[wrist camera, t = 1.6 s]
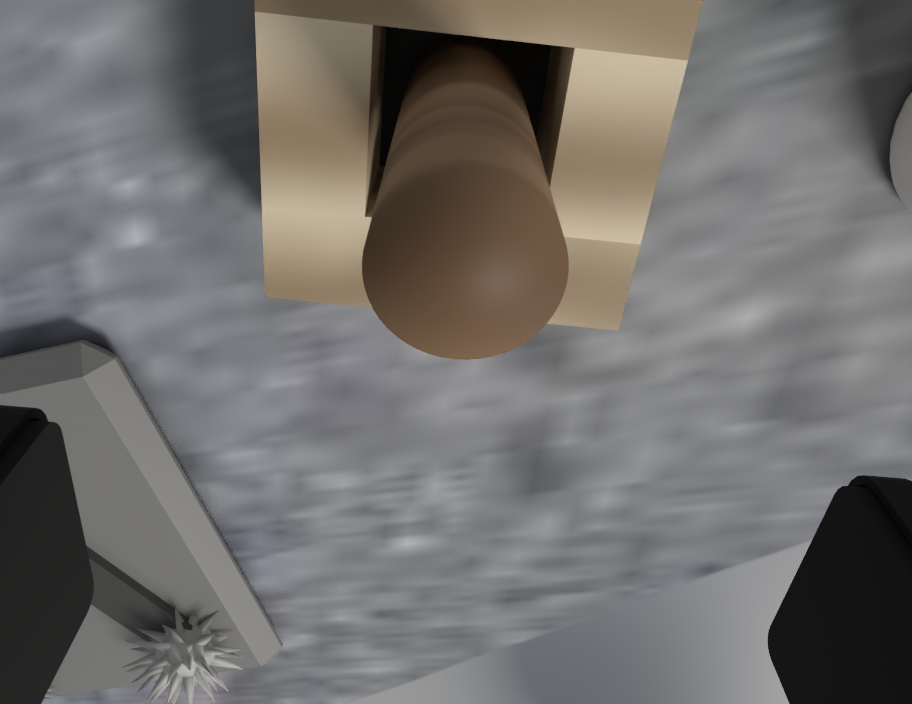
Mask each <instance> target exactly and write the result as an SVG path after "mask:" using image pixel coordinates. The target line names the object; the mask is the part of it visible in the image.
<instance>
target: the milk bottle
mask: <svg viewBox="0 0 912 704" xmlns="http://www.w3.org/2000/svg"><path fill="white" fill-rule="evenodd" d="M890 169H891V176H892V180H893V184H894V187H895V190H896V192H897V194H898V196H899V198H900V200H901V201H902V202H903V204H904V205H905V206H906V208H907V209H908V210H909V211H910V212H911V213H912V91H911V93H910V94H909V96H908V97H907V99H906V100H905V102H904V104H903V107H902V109H901V111H900V114H899V116H898V118H897V120H896V122H895V126H894V131H893V135H892V138H891V142H890Z"/></svg>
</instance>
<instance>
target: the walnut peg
mask: <svg viewBox="0 0 912 704" xmlns="http://www.w3.org/2000/svg"><path fill="white" fill-rule="evenodd" d="M568 273H569V257H568V251H567V245H566V242H565V238H564V235H563V232H562V228H561V225H560V221H559V218H558V214H557V211H556V207H555V204H554V201H553V197H552V194H551V190H550V187H549V183H548V180H547V176H546V173H545V170H544V166H543V163H542V159H541V156H540V152H539V149H538V145H537V142H536V139H535V135H534V132H533V128H532V125H531V121H530V118H529V114H528V111H527V107H526V104H525V101H524V97H523V94H522V90H521V87H520V83H519V80H518V77H517V73H516V71H515V69H514V66H513V64H512V63H511V61H510V60H509V58H508V57H507V56H506V55H505V53H504V52H503V51H502V50H500V49H499V48H498V47H497V46H495V45H494V44H493V43H491V42H489V41H487V40H485V39H482V38H479V37H474V36H466V35H458V36H452V37H447V38H445V39H442V40H439V41H438V42H436V43H434V44H432V45H431V46H430V47H428V48H427V49H426V50H425V51H424V52H423V53H422V54H421V55H420V56H419V58H418V59H417V60H416V62H415V64H414V65H413V67H412V70H411V72H410V74H409V78H408V82H407V86H406V89H405V93H404V97H403V101H402V105H401V108H400V112H399V116H398V120H397V124H396V127H395V131H394V135H393V139H392V143H391V146H390V150H389V154H388V158H387V162H386V166H385V169H384V173H383V177H382V181H381V185H380V188H379V192H378V196H377V200H376V204H375V207H374V211H373V215H372V219H371V223H370V226H369V230H368V234H367V238H366V242H365V245H364V249H363V256H362V277H363V283H364V288H365V291H366V294H367V297H368V299H369V301H370V304H371V306H372V308H373V310H374V311H375V313H376V314H377V316H378V317H379V319H380V320H381V321H382V322H383V323H384V325H385V326H386V327H387V328H388V329H389V330H390V331H391V332H392V333H394V334H395V335H396V336H397V337H398V338H400V339H401V340H403V341H404V342H406V343H407V344H409V345H411V346H413V347H414V348H416V349H418V350H421V351H423V352H426V353H429V354H432V355H435V356H439V357H444V358H451V359H466V360H468V359H480V358H486V357H491V356H495V355H498V354H501V353H504V352H507V351H509V350H511V349H514V348H516V347H517V346H519V345H521V344H523V343H524V342H526V341H527V340H529V339H530V338H531V337H533V336H534V335H535V334H537V333H538V332H539V331H540V330H541V329H542V328H543V327H544V326H545V325H546V324H547V322H548V321H549V320H550V319H551V317H552V316H553V315H554V313H555V311H556V310H557V308H558V306H559V304H560V302H561V300H562V298H563V295H564V292H565V289H566V285H567V280H568Z"/></svg>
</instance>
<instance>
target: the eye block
mask: <svg viewBox="0 0 912 704" xmlns="http://www.w3.org/2000/svg"><path fill="white" fill-rule="evenodd" d="M702 3H703V0H254V4H255V32H256V60H257V87H258V115H259V142H260V170H261V197H262V225H263V253H264V280H265V297H270V298H281V299H292V300H302V301H313V302H323V303H334V304H345V305H355V306H366V307H372V306H371V304H370V301H369V299H368V297H367V294H366V291H365V288H364V283H363V277H362V256H363V249H364V245H365V242H366V238H367V234H368V230H369V226H370V223H371V219H372V215H373V211H374V207H375V204H376V200H377V196H378V192H379V188H380V185H381V181H382V177H383V173H384V169H385V166H381V165H380V147H381V128H382V108H383V88H384V69H385V49H386V29H387V27H395V28H404V29H413V30H421V31H430V32H439V33H448V34H457V35H466V36H474V37H483V38H492V39H501V40H510V41H519V42H527V43H536V44H545V45H551V51H550V57H549V63H548V70H547V76H546V82H545V88H544V94H543V100H542V107H541V113H540V119H539V125H538V131H537V137H536V142H537V145H538V149H539V152H540V156H541V159H542V163H543V166H544V170H545V173H546V176H547V180H548V183H549V187H550V190H551V194H552V197H553V201H554V204H555V207H556V211H557V214H558V218H559V221H560V225H561V228H562V232H563V235H564V238H565V242H566V245H567V251H568V257H569V273H568V280H567V285H566V289H565V292H564V295H563V298H562V300H561V302H560V304H559V306H558V308H557V310H556V311H555V313H554V315H553V316H552V317H551V319H550V320H549V321H548V322H547V324H557V325H567V326H578V327H589V328H599V329H610V330H619V327H620V323H621V319H622V315H623V311H624V308H625V304H626V300H627V296H628V292H629V288H630V284H631V280H632V276H633V272H634V269H635V265H636V261H637V257H638V253H639V249H640V245H641V241H642V237H643V233H644V230H645V226H646V222H647V218H648V214H649V210H650V206H651V202H652V198H653V194H654V191H655V187H656V183H657V179H658V175H659V171H660V167H661V163H662V159H663V155H664V152H665V148H666V144H667V140H668V136H669V132H670V128H671V124H672V120H673V117H674V113H675V109H676V105H677V101H678V97H679V93H680V89H681V85H682V81H683V78H684V74H685V70H686V66H687V62H688V58H689V54H690V50H691V46H692V42H693V39H694V35H695V31H696V27H697V23H698V19H699V15H700V11H701V7H702Z"/></svg>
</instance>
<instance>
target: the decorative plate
mask: <svg viewBox="0 0 912 704" xmlns="http://www.w3.org/2000/svg"><path fill="white" fill-rule="evenodd" d="M0 405H6V406H18V407H31V408H38V409H41V410H42V411H43V412H44V413H45V414H46V416H47V419H48V422H55V423H58V425H59V426H60V427H61V430H62V433H63V438H64V443H65V448H66V452H67V457H68V462H69V467H70V471H71V476H72V481H73V485H74V490H75V495H76V500H77V504H78V509H79V514H80V519H81V523H82V528H83V533H84V537H85V542H86V547H87V552H88V556H89V561H90V566H91V570H92V575H93V581H94V592H93V598H92V602H91V605H90V608H89V611H88V613H87V615H86V617H85V619H84V621H83V623H82V625H81V627H80V629H79V631H78V633H77V635H76V637H75V639H74V640H73V642H72V644H71V646H70V648H69V650H68V652H67V654H66V656H65V658H64V660H63V662H62V664H61V666H60V668H59V670H58V672H57V674H56V676H55V678H54V679H53V681H52V683H51V685H50V687H49V689H48V691H47V693H46V695H45V697H44V698H49V697H62V695H69V694H76V693H83V692H89V691H96V690H103V689H109V688H116V687H123V686H130V685H136V684H143V683H144V684H143V685H142V687H141V688H140V689H139V690H141V689H143V688H144V687H146V686H147V685H149V684H150V683H152V682H156V684H155V686H154V688H153V690H152V691H151V693H150V695H149V697H148V699H147V701H148V700H149V699H150V698H151V697H152V696H153V695H154V696H153V698H152V700H151V702H150V704H152V703H153V701H154V700H155V699H156V698H157V697H158V696H159V695H160V694H161V693H162V691H163V690H164V689H165V688H166V687H167V686H168V685H169V684H170V687H169V693H168V699H167V704H168V702H169V701H170V699H171V697H172V704H175V702H176V700H177V697H178V695H179V692H180V690H181V687H182V685H183V684H184V688H185V693H186V697H187V702H188V704H193V694H194V686H195V688H196V689H197V682H198V683H199V684H200V686H201V687H202V688H203V689H204V690H205V691H206V693H207V694H208V695H209V696H210V697H211V698H212V700H213V701H214V698H213V697H214V696H213V694H212V691H211V689H210V686H209V684H208V682H209V683H210V684H211V685H212V686H213V687H214V688H215V689H216V686H215V684H214V682H213V680H214V681H215V682H216V683H218V684H219V685H220V686H222V687H223V688H224V689H226V690H227V688H226V686H225V685H224V683H223V682H222V680H221V679H220V677H219V676H218V674H217V672H224V671H231V670H237V669H244V668H251V667H258V666H262V665H265V664H267V663H270V662H272V661H273V660H274V658H275V657H276V655H277V654H278V652H279V651H280V650H281V648H282V645H283V643H282V642H281V640H280V638H279V636H278V635H277V633H276V631H275V629H274V628H273V626H272V624H271V623H270V621H269V619H268V617H267V616H266V614H265V612H264V610H263V609H262V607H261V605H260V603H259V602H258V600H257V598H256V596H255V595H254V593H253V591H252V590H251V588H250V586H249V584H248V583H247V581H246V579H245V577H244V576H243V574H242V572H241V570H240V569H239V567H238V565H237V563H236V562H235V560H234V558H233V557H232V555H231V553H230V551H229V550H228V548H227V546H226V544H225V543H224V541H223V539H222V537H221V536H220V534H219V532H218V530H217V529H216V527H215V525H214V524H213V522H212V520H211V518H210V517H209V515H208V513H207V511H206V510H205V508H204V506H203V504H202V503H201V501H200V499H199V497H198V496H197V494H196V492H195V491H194V489H193V487H192V485H191V484H190V482H189V480H188V478H187V477H186V475H185V473H184V471H183V470H182V468H181V466H180V464H179V463H178V461H177V459H176V458H175V456H174V454H173V452H172V451H171V449H170V447H169V445H168V444H167V442H166V440H165V438H164V437H163V435H162V433H161V431H160V430H159V428H158V426H157V425H156V423H155V421H154V419H153V418H152V416H151V414H150V412H149V411H148V409H147V407H146V405H145V404H144V402H143V400H142V398H141V397H140V395H139V393H138V392H137V390H136V388H135V386H134V385H133V383H132V381H131V379H130V378H129V376H128V374H127V372H126V371H125V369H124V367H123V365H122V364H121V362H120V360H119V359H118V357H117V356H116V355H115V354H113V353H112V352H110V351H109V350H107V349H105V348H103V347H101V346H98V345H96V344H93V343H91V342H88V341H85V340H79V341H75V342H70V343H66V344H61V345H56V346H52V347H47V348H43V349H38V350H34V351H29V352H25V353H20V354H16V355H11V356H6V357H2V358H0ZM139 690H138V691H139ZM216 690H217V689H216ZM138 691H137V692H138ZM227 691H228V690H227ZM228 692H229V691H228ZM147 701H146V702H147ZM146 702H145V703H146ZM214 702H215V701H214ZM41 704H42V703H41Z"/></svg>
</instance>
